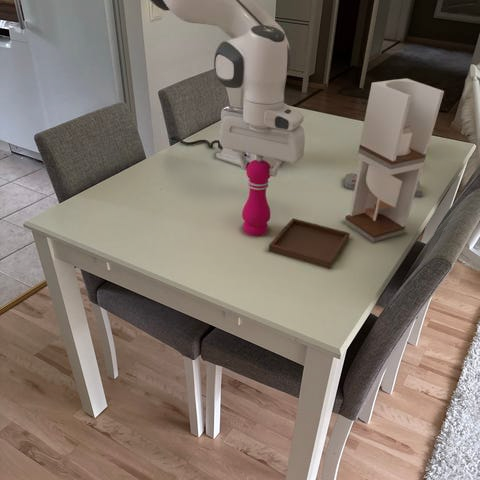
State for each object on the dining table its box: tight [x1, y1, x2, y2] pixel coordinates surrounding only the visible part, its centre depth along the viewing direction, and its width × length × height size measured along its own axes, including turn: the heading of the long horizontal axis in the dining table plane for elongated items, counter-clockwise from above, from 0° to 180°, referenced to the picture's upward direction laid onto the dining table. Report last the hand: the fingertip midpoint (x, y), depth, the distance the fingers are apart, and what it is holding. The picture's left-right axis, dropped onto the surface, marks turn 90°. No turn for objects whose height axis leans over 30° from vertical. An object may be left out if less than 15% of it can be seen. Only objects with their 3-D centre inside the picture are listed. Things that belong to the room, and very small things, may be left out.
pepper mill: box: [241, 155, 271, 237], centre depth 120 cm, size 7×7×20 cm
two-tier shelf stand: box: [344, 78, 445, 243], centre depth 119 cm, size 11×11×35 cm
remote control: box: [344, 172, 422, 198], centre depth 149 cm, size 8×23×2 cm, turn 79°
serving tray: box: [268, 217, 350, 269], centre depth 121 cm, size 16×16×2 cm
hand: (259, 172), depth 117 cm, fingers closed on pepper mill, 6 cm apart
